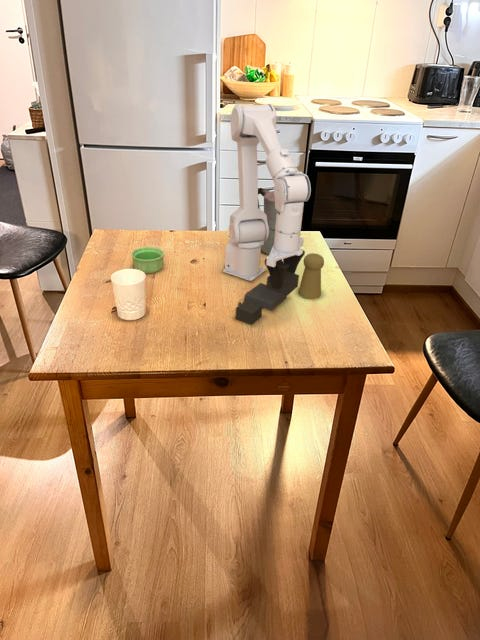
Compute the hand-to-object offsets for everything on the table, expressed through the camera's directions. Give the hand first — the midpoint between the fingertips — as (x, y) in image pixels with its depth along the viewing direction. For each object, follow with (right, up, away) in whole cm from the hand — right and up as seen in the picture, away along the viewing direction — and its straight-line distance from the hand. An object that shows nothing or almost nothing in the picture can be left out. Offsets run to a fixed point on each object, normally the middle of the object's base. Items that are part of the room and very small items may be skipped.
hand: (282, 282), depth 119 cm
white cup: (-36, -7, +1) cm, 37 cm away
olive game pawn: (+8, -2, +13) cm, 16 cm away
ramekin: (-36, +6, +22) cm, 43 cm away
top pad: (-8, -8, +2) cm, 12 cm away
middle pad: (0, -1, +1) cm, 1 cm away
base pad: (-4, -4, +9) cm, 11 cm away
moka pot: (0, +13, +36) cm, 38 cm away
